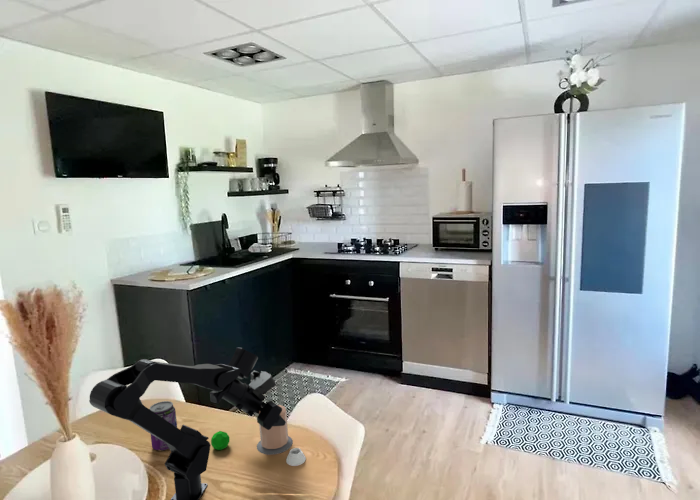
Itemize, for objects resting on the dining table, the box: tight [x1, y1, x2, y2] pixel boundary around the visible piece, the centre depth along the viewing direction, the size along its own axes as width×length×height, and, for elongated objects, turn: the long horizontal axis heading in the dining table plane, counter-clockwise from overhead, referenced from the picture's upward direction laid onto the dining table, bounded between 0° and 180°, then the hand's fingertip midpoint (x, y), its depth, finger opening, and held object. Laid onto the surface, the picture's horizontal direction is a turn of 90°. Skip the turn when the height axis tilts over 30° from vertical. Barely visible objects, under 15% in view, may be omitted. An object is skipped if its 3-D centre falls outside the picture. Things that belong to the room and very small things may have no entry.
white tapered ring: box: [285, 447, 307, 467], centre depth 116 cm, size 5×3×5 cm
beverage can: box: [149, 400, 178, 451], centre depth 125 cm, size 7×7×12 cm
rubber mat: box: [256, 435, 293, 456], centre depth 124 cm, size 10×10×1 cm
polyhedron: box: [210, 430, 231, 451], centre depth 123 cm, size 5×5×5 cm
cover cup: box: [258, 404, 289, 449], centre depth 123 cm, size 7×7×9 cm
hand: (277, 418), depth 123 cm, fingers closed on cover cup, 8 cm apart
